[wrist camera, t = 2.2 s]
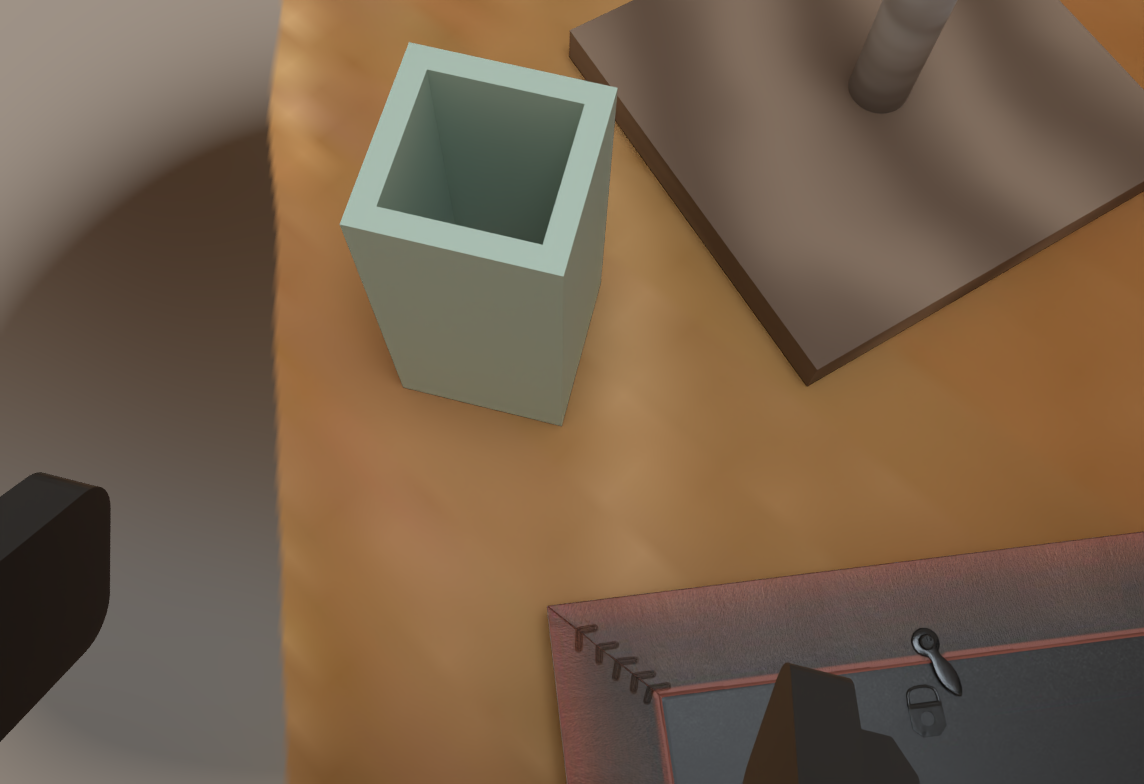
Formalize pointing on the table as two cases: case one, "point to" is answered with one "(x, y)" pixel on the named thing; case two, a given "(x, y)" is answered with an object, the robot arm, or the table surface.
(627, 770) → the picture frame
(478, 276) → the square hollow tube
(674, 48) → the post board
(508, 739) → the table surface
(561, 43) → the table surface
